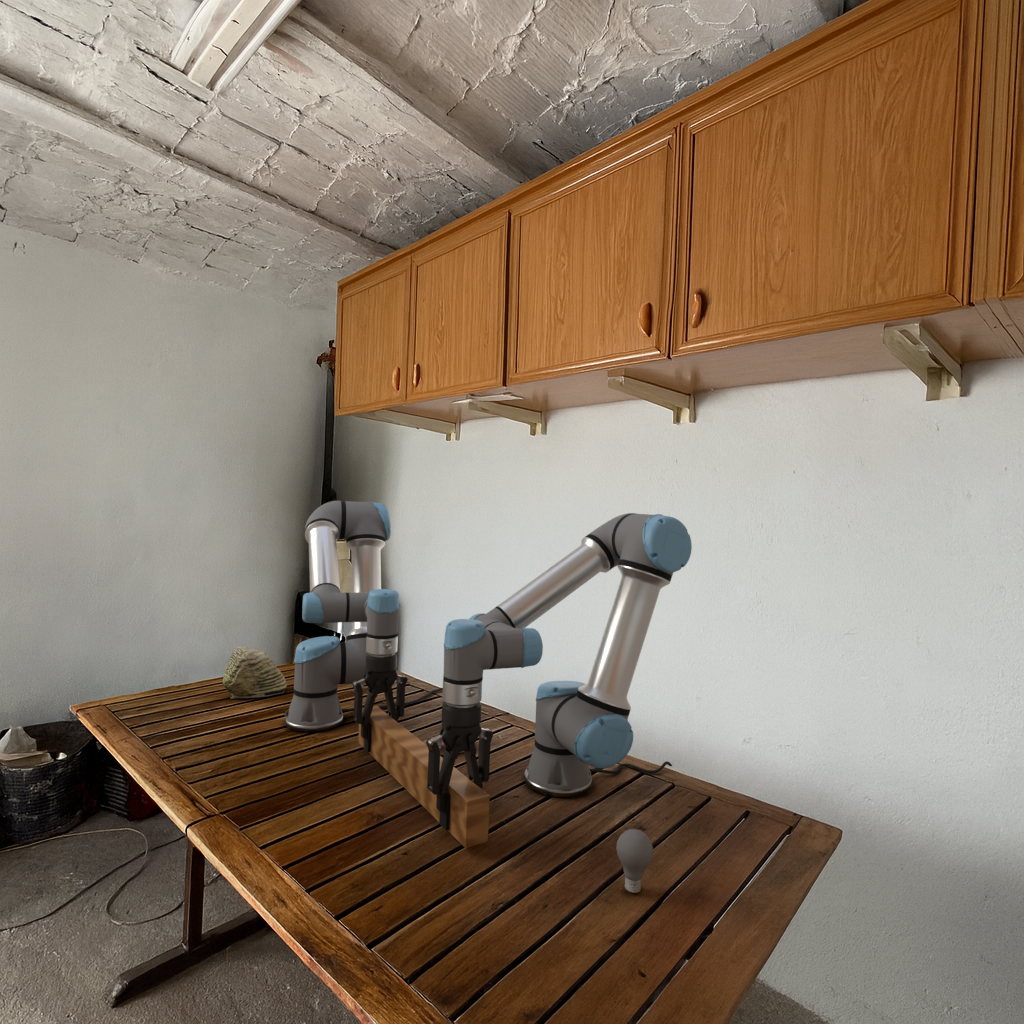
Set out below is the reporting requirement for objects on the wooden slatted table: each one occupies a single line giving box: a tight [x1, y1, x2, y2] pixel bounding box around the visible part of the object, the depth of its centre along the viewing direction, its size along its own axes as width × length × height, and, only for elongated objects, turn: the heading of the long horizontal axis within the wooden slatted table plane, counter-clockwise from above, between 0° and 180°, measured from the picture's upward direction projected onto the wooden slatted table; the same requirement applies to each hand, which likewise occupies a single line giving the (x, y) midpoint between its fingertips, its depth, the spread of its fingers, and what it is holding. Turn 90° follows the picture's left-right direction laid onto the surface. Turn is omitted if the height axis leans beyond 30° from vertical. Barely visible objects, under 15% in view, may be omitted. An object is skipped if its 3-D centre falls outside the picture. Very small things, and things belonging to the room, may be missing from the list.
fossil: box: [222, 646, 288, 699], centre depth 198 cm, size 9×18×15 cm, turn 132°
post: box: [357, 705, 491, 849], centre depth 138 cm, size 56×5×9 cm, turn 33°
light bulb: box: [615, 828, 654, 894], centre depth 106 cm, size 6×6×10 cm
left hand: (377, 748), depth 155 cm, fingers closed on post, 5 cm apart
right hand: (457, 822), depth 121 cm, fingers closed on post, 5 cm apart
